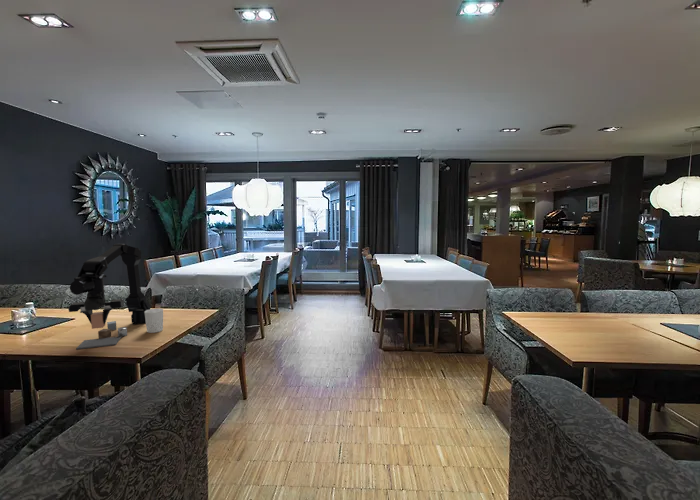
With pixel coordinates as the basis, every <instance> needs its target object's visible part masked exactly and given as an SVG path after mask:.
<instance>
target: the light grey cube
mask: <svg viewBox="0 0 700 500" xmlns="http://www.w3.org/2000/svg"><path fill="white" fill-rule="evenodd" d="M118 336H121V338H123V337H127V336H128V327H126V326H122V327H120V326H119V327H118V328H117V337H118Z"/></svg>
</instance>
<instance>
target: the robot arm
mask: <svg viewBox="0 0 700 500" xmlns="http://www.w3.org/2000/svg"><path fill="white" fill-rule="evenodd" d="M119 256H120V257H121V261H122V263H123V264H124V265H125V266H126V272H127V280H128V289H129V294H128V296H127V297H126V298H125V302H126V303H125V302H124V299H123V298H118V299H117V298H116V299H112V300H111V301H106V298H105V291H106V289H105V288H104V287H105V286H104V278H107V274H104V273H105V271H106V270H107V269H108V267H109V265H110V263H112V262H113V261H115V259H117V258H118V257H119ZM141 260H142V251H141V249H140V248H139V247H134V246H130V245H127V244H125V243H115V244H113V245H112V247H110V248H108V249H107V250H105V252H103V253H102V254H101V255H99V256H97V257H92V258H90V259H87V260H85V261H84V262H83V263H82V266H81V268H80V270H79V273H78V275H77V277H75V278H73V281H72V282H71V283H70V284H69V285H70V286H69V290H70V292H71V293H72V294H73V295H75V296H80V295H83V294H85V293H86V299H85V301H79V302H78V301H77V302H76V301H75V302H72V303H71V304H70V305H69V306H68V313H75V312H79V313H80V314H83V315H85V316H86V317H87V319H88V321H89V323H90V324H91V314H93V313H94V312H93V311H98V310H99V309H100V308H102V307H103V310H102V312H103V313H104V314H103V323H104V324H105V325H106V324H107V320H108V317H109V314H110V312H111V311H112V310H113V309H120V308H122V307H124V305H125V304H126V305H125V306H126V308H127V310H128V312H129V313H132V314H131V315H130V316H131V317H130V318H131V324H132V325H142V324H146V321H145V311H146V310H149V309H152V308H151V307H152V306H151V305H150V304H149V302H148V301H147V297H146V295H145V294H144V293H143V292H142V286H141V279H140V271H139V270H140V269H139V263H140V262H141ZM124 303H125V304H124ZM79 310H80V311H79Z"/></svg>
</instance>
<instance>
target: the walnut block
mask: <svg viewBox="0 0 700 500" xmlns="http://www.w3.org/2000/svg"><path fill="white" fill-rule="evenodd" d="M97 334H98V339H100V338H109V337H112V330H111V329H108V328H101V329H100V330H98V332H97Z"/></svg>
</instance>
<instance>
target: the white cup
mask: <svg viewBox="0 0 700 500" xmlns="http://www.w3.org/2000/svg"><path fill="white" fill-rule="evenodd" d="M145 321H146V323H145V326H146V332H147V333H149V334H151V333H152V334H155V333H161V332H162V331H163V330H164V309H163V308H150V309H149V310H146V311H145Z"/></svg>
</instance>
